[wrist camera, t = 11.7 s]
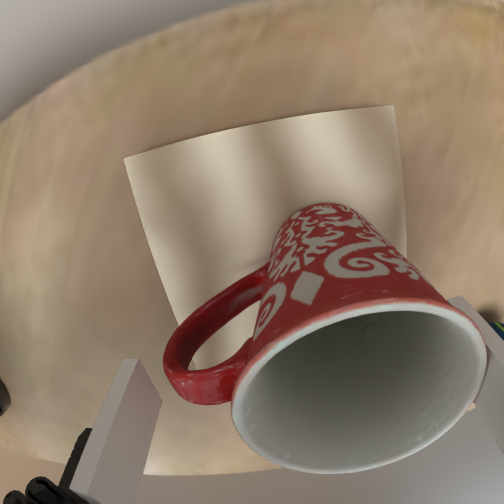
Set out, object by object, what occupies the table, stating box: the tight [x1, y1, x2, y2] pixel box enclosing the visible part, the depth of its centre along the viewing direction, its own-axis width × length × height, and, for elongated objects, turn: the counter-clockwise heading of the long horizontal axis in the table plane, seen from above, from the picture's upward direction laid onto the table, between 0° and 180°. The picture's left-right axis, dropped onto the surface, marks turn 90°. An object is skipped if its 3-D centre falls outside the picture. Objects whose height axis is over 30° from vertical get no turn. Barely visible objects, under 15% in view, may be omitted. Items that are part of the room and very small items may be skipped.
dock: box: [124, 105, 407, 370], centre depth 23 cm, size 18×18×3 cm
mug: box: [163, 203, 487, 474], centre depth 15 cm, size 13×9×14 cm
